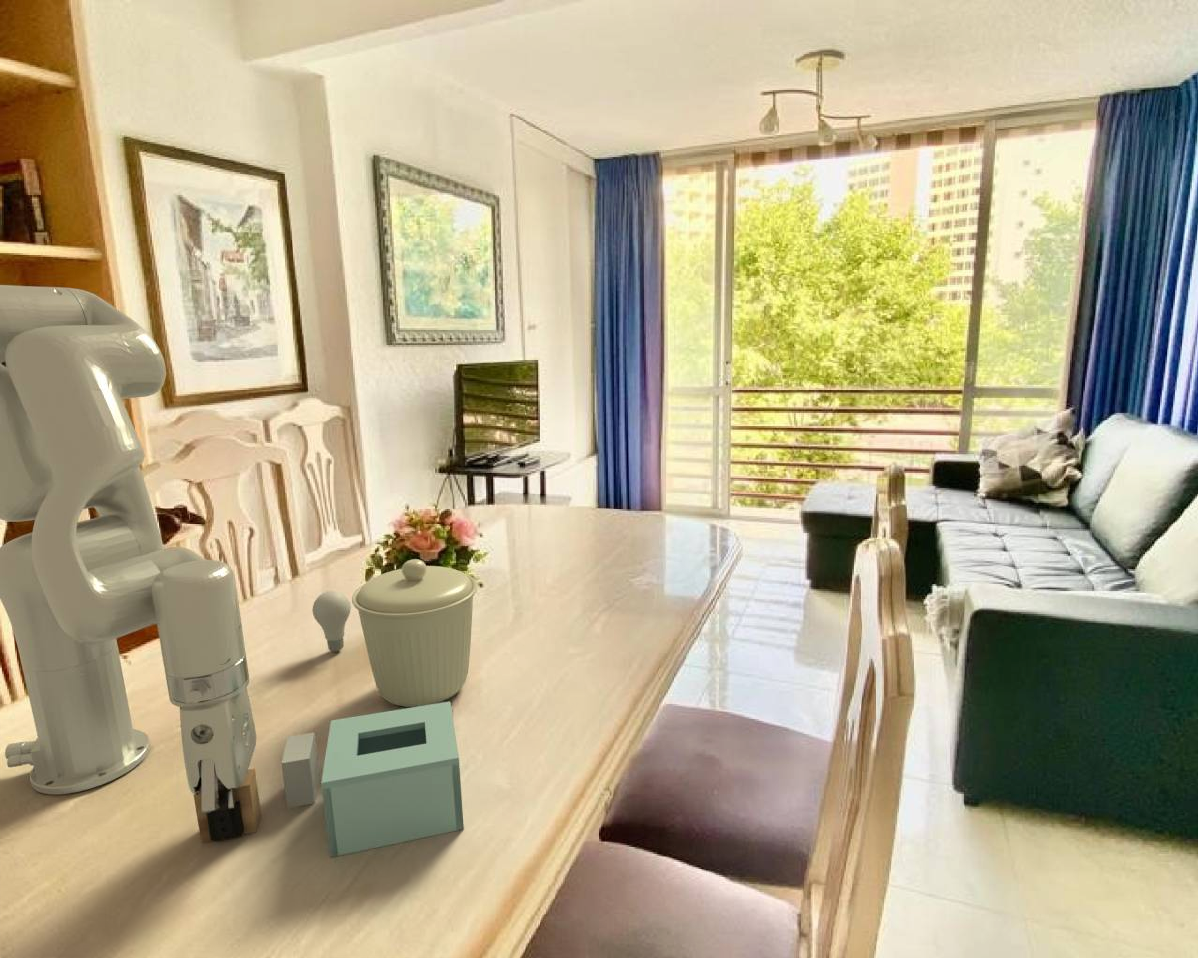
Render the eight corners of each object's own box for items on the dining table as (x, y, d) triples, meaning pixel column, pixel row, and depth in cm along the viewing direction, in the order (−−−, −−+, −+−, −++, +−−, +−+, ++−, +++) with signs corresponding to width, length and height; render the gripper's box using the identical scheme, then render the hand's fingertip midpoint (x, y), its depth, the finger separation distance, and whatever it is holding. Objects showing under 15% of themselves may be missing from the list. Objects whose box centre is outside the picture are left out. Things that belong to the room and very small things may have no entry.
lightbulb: (342, 660, 116) (336, 599, 114) (310, 658, 117) (303, 597, 115) (361, 644, 122) (356, 586, 119) (330, 642, 123) (324, 584, 121)
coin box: (330, 857, 73) (321, 782, 71) (338, 786, 84) (330, 720, 82) (463, 828, 77) (458, 757, 75) (454, 764, 88) (450, 701, 86)
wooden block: (201, 842, 75) (193, 794, 74) (208, 824, 78) (200, 777, 77) (256, 831, 77) (249, 784, 76) (261, 814, 80) (254, 768, 78)
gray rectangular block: (314, 803, 81) (309, 758, 80) (287, 808, 81) (281, 763, 79) (319, 774, 87) (314, 732, 85) (293, 779, 86) (288, 736, 84)
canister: (359, 732, 96) (344, 589, 91) (364, 671, 112) (352, 548, 108) (490, 710, 100) (482, 573, 96) (476, 654, 117) (468, 536, 113)
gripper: (230, 710, 67) (254, 871, 71) (260, 639, 82) (279, 774, 86) (142, 724, 65) (172, 889, 69) (190, 648, 80) (212, 786, 84)
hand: (231, 824), depth 77 cm, fingers closed on wooden block, 3 cm apart
